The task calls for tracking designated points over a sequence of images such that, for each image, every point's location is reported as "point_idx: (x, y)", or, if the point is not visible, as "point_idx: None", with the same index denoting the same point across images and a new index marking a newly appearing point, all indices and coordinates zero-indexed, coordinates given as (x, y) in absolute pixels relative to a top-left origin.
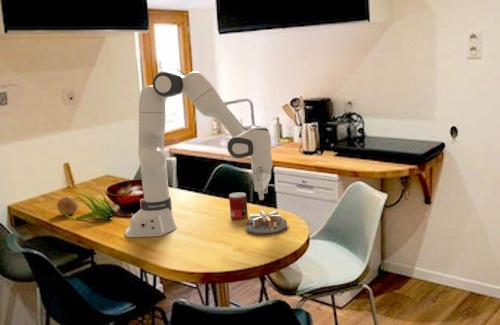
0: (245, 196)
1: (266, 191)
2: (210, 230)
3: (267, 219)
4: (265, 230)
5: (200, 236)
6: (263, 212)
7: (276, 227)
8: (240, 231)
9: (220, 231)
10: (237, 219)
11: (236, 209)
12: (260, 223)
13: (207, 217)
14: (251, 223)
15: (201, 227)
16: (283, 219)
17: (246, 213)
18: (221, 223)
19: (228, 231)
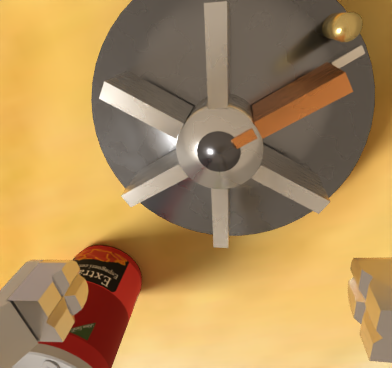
0: (44, 342)
1: (55, 282)
2: (279, 329)
3: (317, 109)
4: (374, 92)
5: (348, 345)
6: (159, 180)
7: (341, 12)
8: (291, 231)
9: (290, 300)
10: (140, 272)
11: (126, 314)
12: (277, 156)
13: (144, 353)
14: (235, 208)
15: (247, 354)
16: (127, 22)
17: (99, 259)
18: (195, 311)
19: (290, 275)
